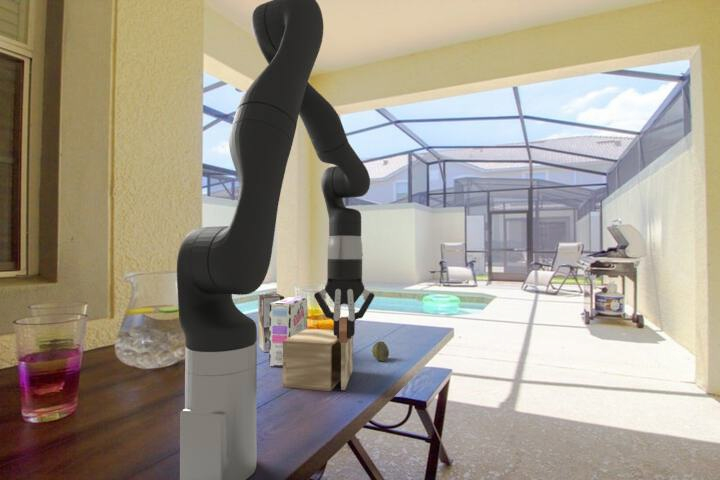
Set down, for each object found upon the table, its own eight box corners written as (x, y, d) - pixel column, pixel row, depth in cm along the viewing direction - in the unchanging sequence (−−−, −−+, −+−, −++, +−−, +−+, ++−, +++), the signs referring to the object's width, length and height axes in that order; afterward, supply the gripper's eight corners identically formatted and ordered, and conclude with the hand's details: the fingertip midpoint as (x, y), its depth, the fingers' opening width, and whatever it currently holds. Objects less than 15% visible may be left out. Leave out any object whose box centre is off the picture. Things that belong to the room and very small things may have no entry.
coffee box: (285, 350, 120) (285, 296, 121) (263, 352, 118) (263, 297, 118) (277, 343, 129) (277, 293, 129) (257, 346, 126) (257, 294, 126)
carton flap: (346, 390, 85) (346, 319, 85) (339, 389, 85) (339, 319, 86) (354, 370, 99) (354, 309, 100) (348, 369, 99) (347, 309, 100)
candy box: (290, 368, 102) (290, 303, 103) (268, 367, 104) (268, 302, 104) (307, 354, 116) (307, 296, 116) (288, 353, 117) (288, 296, 117)
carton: (330, 391, 86) (330, 343, 86) (282, 386, 88) (282, 340, 89) (348, 371, 99) (348, 330, 100) (306, 368, 102) (306, 328, 102)
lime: (388, 358, 112) (388, 339, 112) (388, 362, 107) (388, 343, 107) (372, 357, 112) (372, 339, 112) (371, 362, 107) (371, 343, 107)
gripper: (310, 257, 84) (309, 341, 83) (377, 257, 84) (376, 342, 83) (315, 256, 91) (314, 334, 91) (376, 257, 91) (375, 334, 91)
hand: (344, 337), depth 87 cm, fingers closed on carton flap, 2 cm apart
